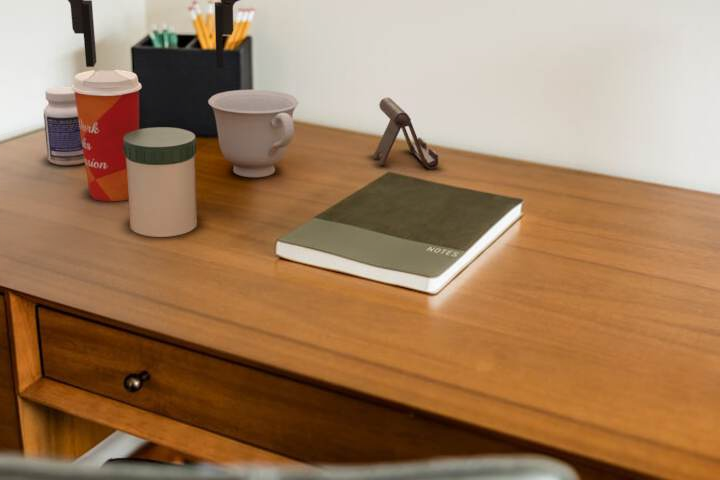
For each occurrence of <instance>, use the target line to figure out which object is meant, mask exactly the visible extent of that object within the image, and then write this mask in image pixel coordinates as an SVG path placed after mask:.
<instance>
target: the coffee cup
mask: <svg viewBox="0 0 720 480" xmlns="http://www.w3.org/2000/svg"><path fill="white" fill-rule="evenodd" d="M70 87H71V90H72V91H74V92H75V99H76V106H77V113H78V120H79V127H80V134H81V140H82V147H83V154H84V161H85V162H84V168H85V173H86V179H87V185H88V190H89V195H90V197H91V198H92V199H94V200H97V201H102V202H122V201H126V200H129V199H128V183H127V168H126V157H125V155H124V154H123V143H124V141H123V137H124V135H126V134H127V133H129V132H132V131H135V130H139V129H140V90H141V89H142V88H143V85H142V83H141V82H139V78H138V75H137V73H135V72H133V71H128V70H122V69H113V70H110V69H99V70H97V71H95V70H94V69H93V70H87V71H82V72H79V73H76V74H75V75H74V77H73V84H71V86H70Z"/></svg>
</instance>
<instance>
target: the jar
mask: <svg viewBox="0 0 720 480" xmlns="http://www.w3.org/2000/svg"><path fill="white" fill-rule="evenodd" d="M126 168H127V183H128V199H127V200H128V211H129V227H130V229H131V230H132V232H134V233H136V234H139V235H141V236H145V237H153V238H166V237H167V238H168V237H176V236H181V235H184V234H187V233H190V232H191V231H193V230H194V229H195V228H196V227H197V225H198V214H197V213H198V211H197V209H198V208H197V184H196V183H197V181H196V180H197V179H196V154H195V155H194V156H193V157H191V158H189V159H187V160H183V161H179V162H174V163H163V164H152V163H142V162H136V161H133V160H130V159H128V158H127V157H126Z"/></svg>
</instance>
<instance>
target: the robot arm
mask: <svg viewBox="0 0 720 480" xmlns="http://www.w3.org/2000/svg"><path fill="white" fill-rule="evenodd" d="M239 1H240V0H220V2H219V1H214V26H215V27H214V28H215V29H214V30H215V67H216V68H224V36H232V35H233V32H234V6H235V4H236V2H239ZM67 2H68V3H69V4H70V14H71V16H70V17H71V25H72V27H71V28H72V30H73V32H74V34H79V35H80V34H81V35H83V44H84V45H83V46H84V57H85V67H86V68H94V67H95V65H96V64H97V50H96V38H95V37H96V36H95V24H94V23H95V22H94V12H93V11H94V9H93V0H67Z"/></svg>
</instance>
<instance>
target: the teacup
mask: <svg viewBox="0 0 720 480" xmlns="http://www.w3.org/2000/svg"><path fill="white" fill-rule="evenodd" d="M207 102H208V104H209V106H210V107H211V108H212V110H213V114H214V118H215V124H216V132H217V138H218V143H219V149H220V152H221V154H222V156H223V157H224V158H225V160H226V161H227V162H229V163H231V164H233V169H232V171H233V173H234V174H235V175H237V176H240V177H243V178H264V177H268V176H271V175H274V173H275V172H276V169H275V168H276V167H275V165H276V164H278V163H280V162H281V161H282V160H283V159H284V158H285V156H286V154H287V151H288V148H289V145H290V144H291V143H292V141H293V139H294V136H295V124H294V120H293V115H294V112H295V110H296V108H297V107H298V106H299V104H300V102H299V100H298V99H297V98H296V97H295V96H293V95H292V94H288V93H285V92H281V91H276V90H268V89H267V90H266V89H238V90H237V89H235V90H228V91H223V92H218V93H216V94H213V95H212V96H211V97H210V98H209V99H208V100H207Z"/></svg>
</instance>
